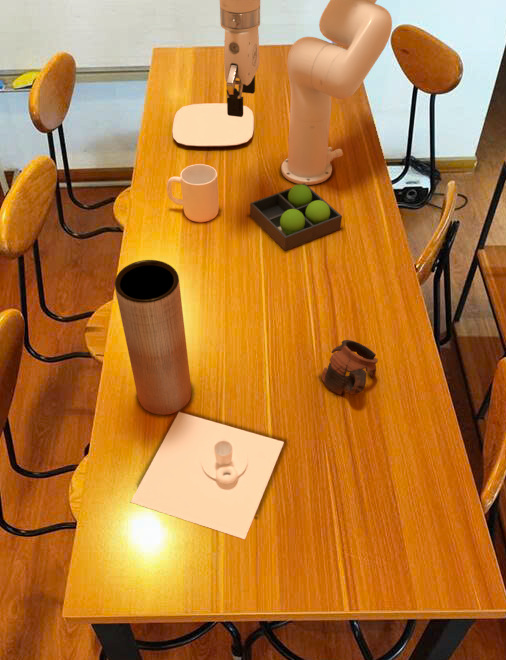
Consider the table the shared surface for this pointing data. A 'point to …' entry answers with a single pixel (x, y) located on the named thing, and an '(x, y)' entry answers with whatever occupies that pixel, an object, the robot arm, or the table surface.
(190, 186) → the cup
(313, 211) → the lime back right
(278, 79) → the table surface
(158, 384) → the vase
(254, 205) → the rack
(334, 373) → the pottery mug
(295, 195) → the lime back left
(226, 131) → the plate
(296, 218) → the lime
